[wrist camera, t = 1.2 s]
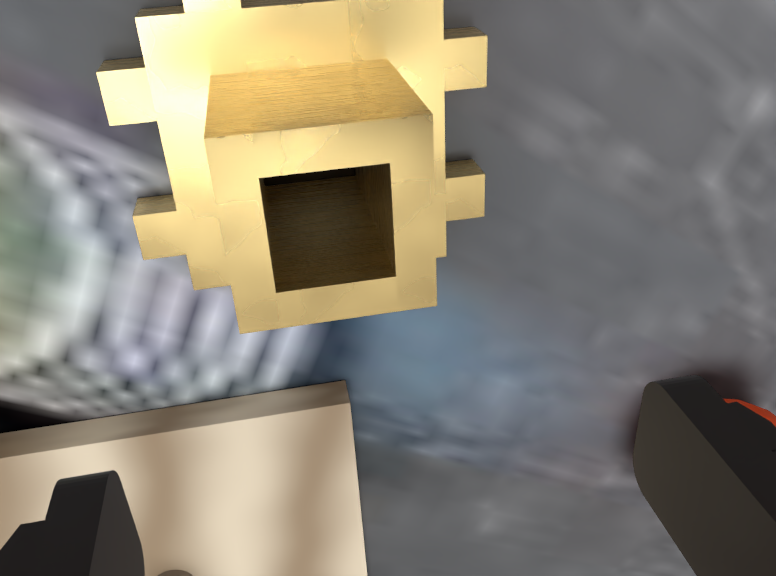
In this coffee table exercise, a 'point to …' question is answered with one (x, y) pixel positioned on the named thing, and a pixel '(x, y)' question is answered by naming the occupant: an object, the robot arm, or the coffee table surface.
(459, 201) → the gear
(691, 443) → the robot arm
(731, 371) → the coffee table surface
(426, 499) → the coffee table surface
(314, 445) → the carrier plate
